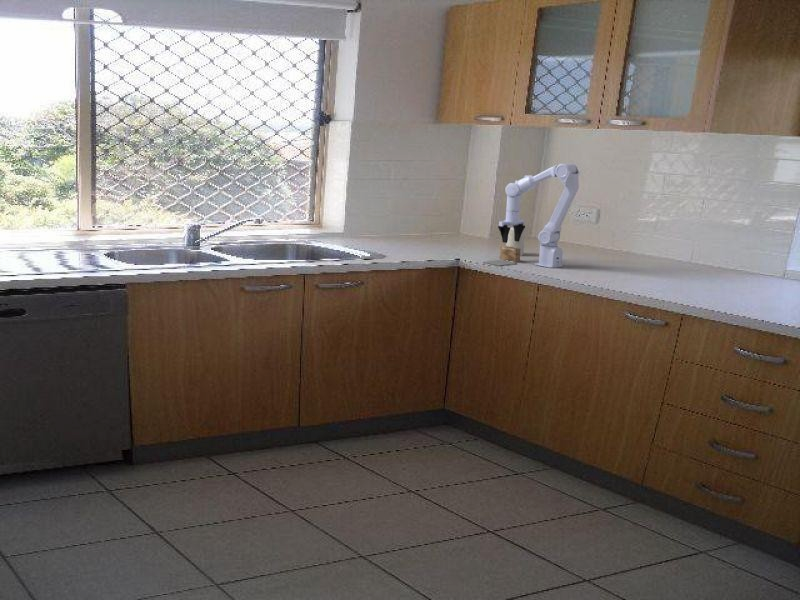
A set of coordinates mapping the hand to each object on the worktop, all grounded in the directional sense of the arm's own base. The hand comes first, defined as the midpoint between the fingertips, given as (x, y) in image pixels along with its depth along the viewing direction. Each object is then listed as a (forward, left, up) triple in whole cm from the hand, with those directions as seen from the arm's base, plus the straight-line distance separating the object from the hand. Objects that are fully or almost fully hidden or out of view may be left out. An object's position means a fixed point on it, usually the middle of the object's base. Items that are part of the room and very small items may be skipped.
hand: (510, 241), depth 370 cm
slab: (0, 0, -8) cm, 8 cm away
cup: (+11, -15, -9) cm, 20 cm away
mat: (-3, +9, -8) cm, 13 cm away
